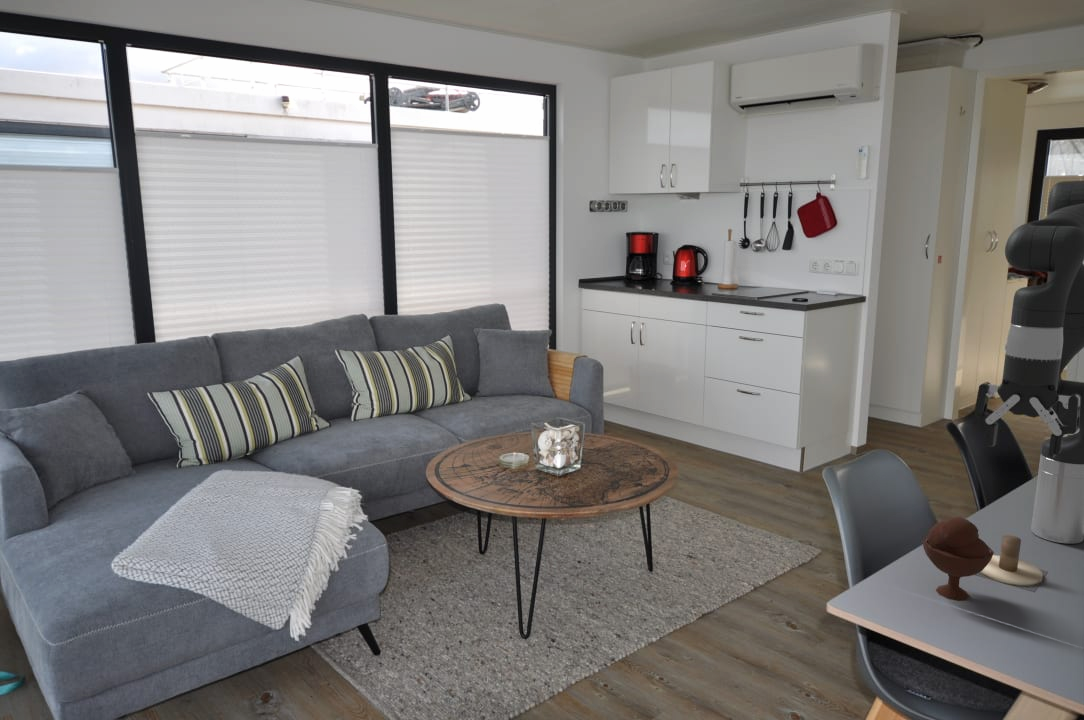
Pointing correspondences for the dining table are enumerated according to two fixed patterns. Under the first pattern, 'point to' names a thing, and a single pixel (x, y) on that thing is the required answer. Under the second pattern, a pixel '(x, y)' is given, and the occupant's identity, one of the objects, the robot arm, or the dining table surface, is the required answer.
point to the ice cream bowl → (956, 553)
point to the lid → (1011, 565)
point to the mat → (1029, 588)
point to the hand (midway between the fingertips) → (1021, 450)
